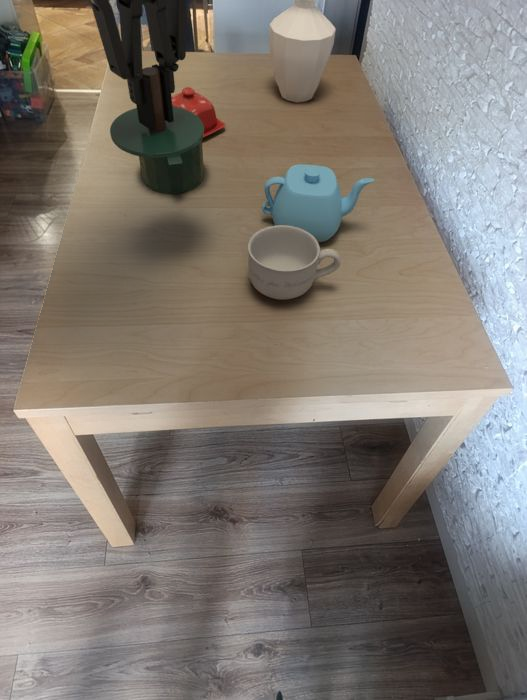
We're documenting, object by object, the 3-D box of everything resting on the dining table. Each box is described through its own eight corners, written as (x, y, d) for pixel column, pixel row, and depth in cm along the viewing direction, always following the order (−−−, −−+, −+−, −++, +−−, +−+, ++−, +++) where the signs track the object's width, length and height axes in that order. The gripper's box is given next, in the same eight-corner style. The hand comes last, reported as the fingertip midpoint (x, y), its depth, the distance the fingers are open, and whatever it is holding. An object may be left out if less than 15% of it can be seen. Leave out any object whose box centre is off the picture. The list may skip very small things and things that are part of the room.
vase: (327, 110, 114) (347, -21, 95) (265, 106, 114) (272, -26, 94) (324, 81, 123) (342, -45, 103) (266, 77, 123) (273, -49, 103)
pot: (147, 205, 90) (140, 163, 84) (137, 153, 100) (131, 111, 93) (210, 198, 92) (209, 156, 86) (195, 148, 102) (193, 107, 96)
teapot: (377, 199, 77) (261, 189, 77) (363, 252, 86) (258, 243, 86) (372, 154, 85) (266, 145, 85) (360, 206, 93) (263, 198, 93)
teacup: (238, 301, 77) (239, 262, 71) (255, 255, 84) (258, 216, 77) (327, 320, 76) (336, 282, 69) (338, 272, 82) (346, 233, 76)
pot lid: (114, 166, 65) (100, 99, 59) (109, 116, 73) (96, 51, 66) (211, 157, 68) (208, 92, 61) (196, 109, 75) (193, 47, 68)
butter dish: (229, 130, 107) (228, 89, 100) (188, 150, 102) (185, 109, 95) (193, 109, 112) (190, 69, 105) (152, 127, 106) (146, 86, 99)
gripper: (78, -87, 45) (124, 153, 64) (211, -108, 52) (217, 114, 71) (36, -105, 48) (92, 129, 67) (167, -123, 55) (184, 94, 74)
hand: (156, 121), depth 69 cm, fingers closed on pot lid, 2 cm apart
